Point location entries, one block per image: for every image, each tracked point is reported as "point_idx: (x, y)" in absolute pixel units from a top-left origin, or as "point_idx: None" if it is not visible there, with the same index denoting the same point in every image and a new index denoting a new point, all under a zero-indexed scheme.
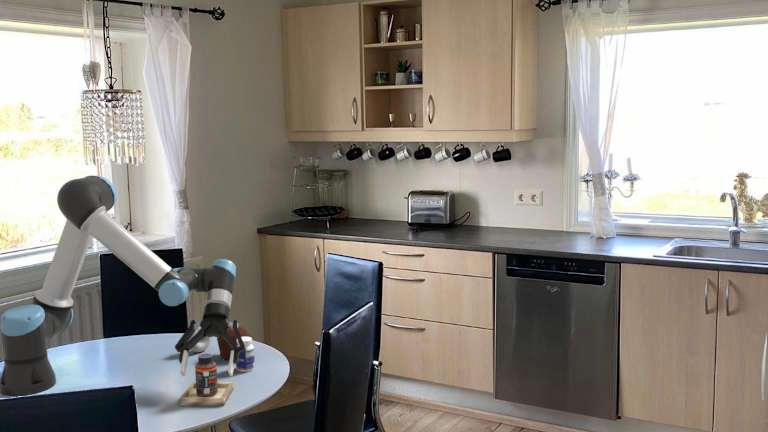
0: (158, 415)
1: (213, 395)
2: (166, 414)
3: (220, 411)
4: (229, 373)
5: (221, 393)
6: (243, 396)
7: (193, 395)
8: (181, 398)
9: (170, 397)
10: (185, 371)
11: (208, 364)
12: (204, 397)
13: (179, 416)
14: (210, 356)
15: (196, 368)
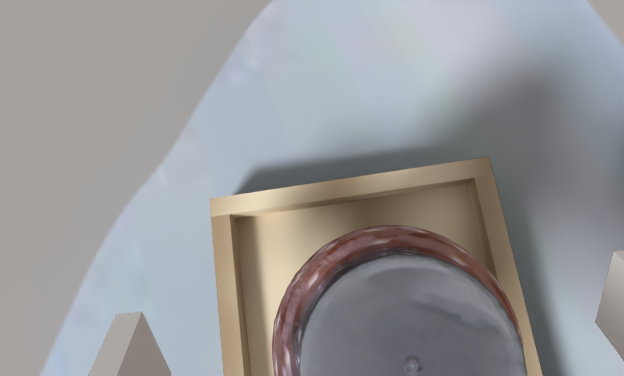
0: (528, 37)
1: None
2: (492, 55)
3: (217, 135)
4: (149, 341)
5: None
6: None
7: None
8: (480, 158)
9: None
10: (620, 348)
11: (329, 278)
12: (335, 192)
13: (408, 44)
14: (311, 334)
15: (462, 247)
